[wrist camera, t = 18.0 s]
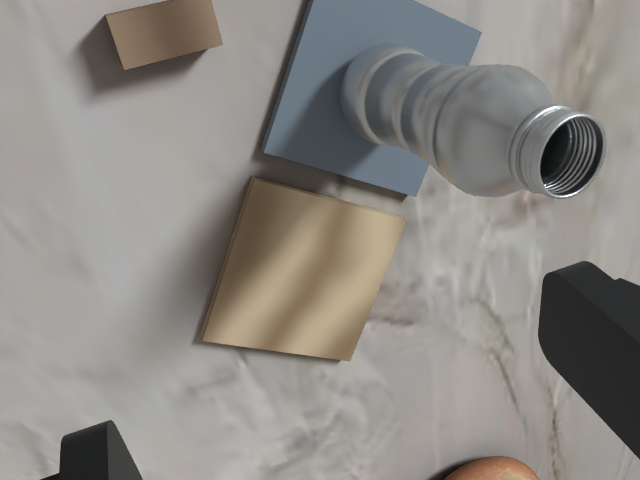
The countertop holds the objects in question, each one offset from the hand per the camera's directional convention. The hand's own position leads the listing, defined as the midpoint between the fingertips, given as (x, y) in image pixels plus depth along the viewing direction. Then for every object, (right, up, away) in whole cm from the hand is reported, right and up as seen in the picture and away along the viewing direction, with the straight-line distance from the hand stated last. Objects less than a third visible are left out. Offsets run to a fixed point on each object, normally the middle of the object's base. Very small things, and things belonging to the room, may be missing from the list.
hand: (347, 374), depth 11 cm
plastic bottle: (+3, +13, +32) cm, 35 cm away
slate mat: (+3, +13, +33) cm, 36 cm away
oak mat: (-2, 0, +36) cm, 36 cm away
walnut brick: (-10, +16, +27) cm, 33 cm away
